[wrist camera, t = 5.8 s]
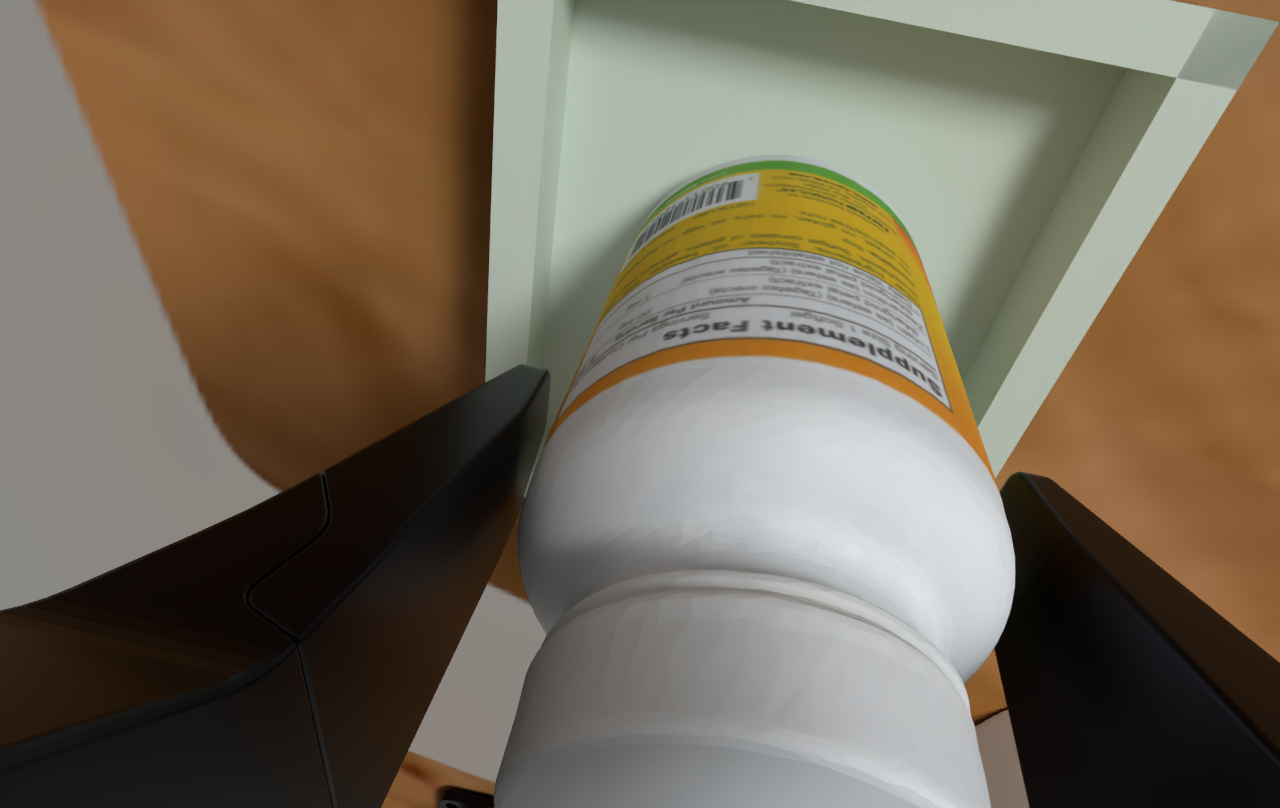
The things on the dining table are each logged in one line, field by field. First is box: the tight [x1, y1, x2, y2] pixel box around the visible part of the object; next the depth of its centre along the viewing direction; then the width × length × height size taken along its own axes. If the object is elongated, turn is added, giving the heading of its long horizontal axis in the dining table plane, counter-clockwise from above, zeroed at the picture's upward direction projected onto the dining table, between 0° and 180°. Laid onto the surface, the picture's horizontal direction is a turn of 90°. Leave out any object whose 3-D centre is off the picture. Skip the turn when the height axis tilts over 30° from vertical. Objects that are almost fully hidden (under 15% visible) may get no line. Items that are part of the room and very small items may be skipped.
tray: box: [485, 0, 1279, 498], centre depth 13 cm, size 11×10×2 cm
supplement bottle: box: [494, 155, 1015, 808], centre depth 9 cm, size 5×5×10 cm
